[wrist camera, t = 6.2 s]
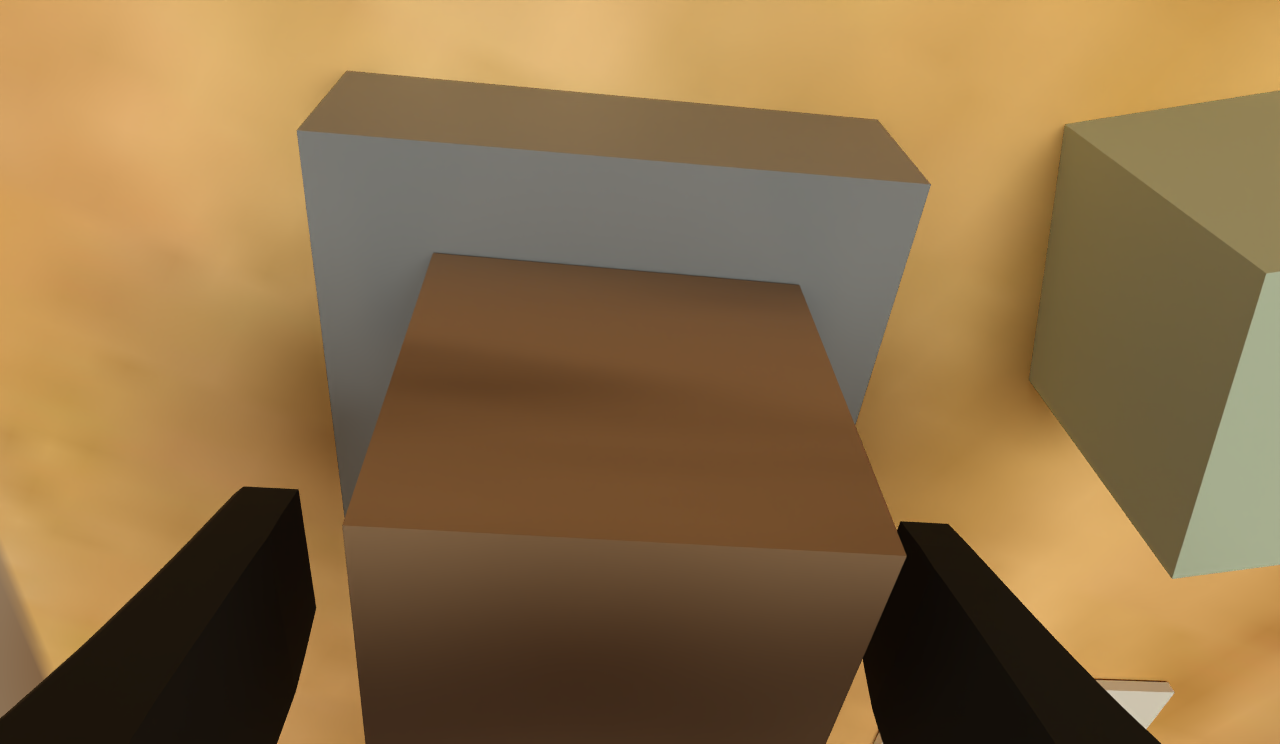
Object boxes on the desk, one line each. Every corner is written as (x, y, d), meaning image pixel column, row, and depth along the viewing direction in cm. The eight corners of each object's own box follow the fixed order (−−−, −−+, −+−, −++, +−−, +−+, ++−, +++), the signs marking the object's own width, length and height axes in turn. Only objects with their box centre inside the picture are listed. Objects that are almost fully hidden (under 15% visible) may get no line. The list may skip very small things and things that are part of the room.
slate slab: (773, 485, 18) (801, 597, 16) (386, 466, 17) (352, 580, 15) (870, 110, 14) (931, 184, 11) (353, 62, 13) (296, 130, 10)
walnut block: (733, 538, 15) (786, 835, 11) (437, 522, 14) (374, 826, 10) (799, 285, 12) (907, 556, 8) (432, 252, 11) (342, 525, 7)
